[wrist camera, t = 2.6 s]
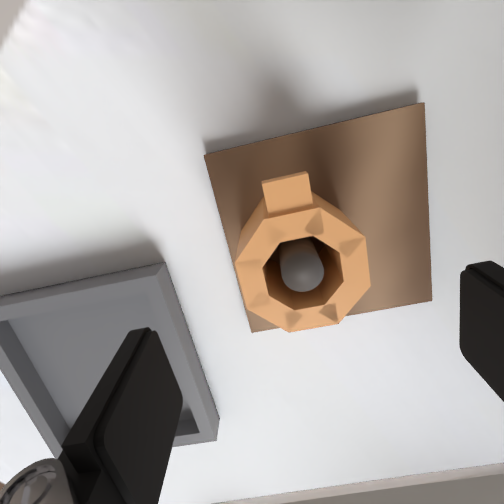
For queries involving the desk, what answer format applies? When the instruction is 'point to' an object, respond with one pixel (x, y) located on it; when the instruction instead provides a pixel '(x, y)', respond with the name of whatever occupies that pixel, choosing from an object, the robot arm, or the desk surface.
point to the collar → (332, 255)
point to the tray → (96, 348)
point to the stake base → (342, 201)
